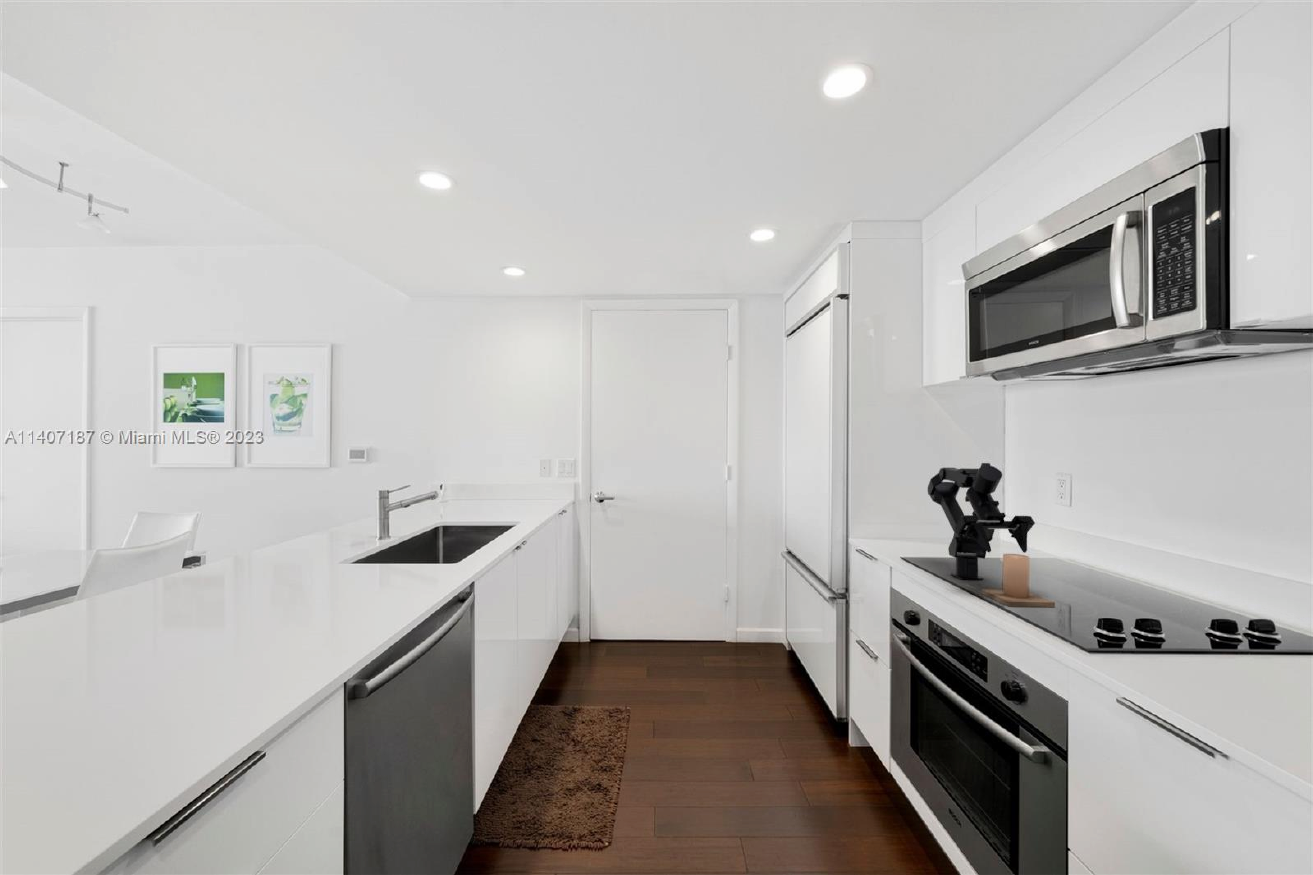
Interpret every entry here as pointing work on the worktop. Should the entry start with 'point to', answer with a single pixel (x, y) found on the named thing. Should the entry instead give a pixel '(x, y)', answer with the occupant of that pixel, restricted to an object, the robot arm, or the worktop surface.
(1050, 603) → the walnut board
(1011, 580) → the terracotta canister
